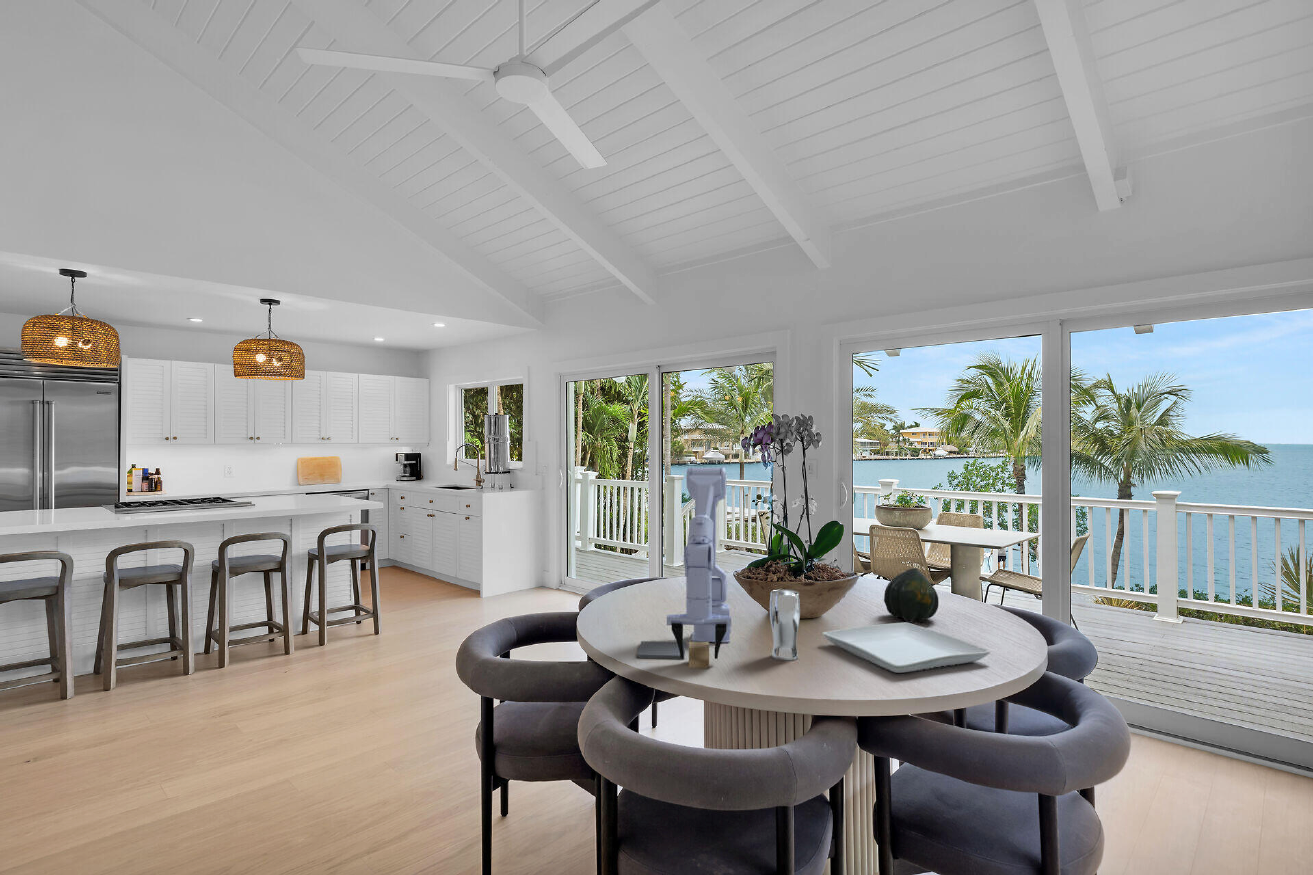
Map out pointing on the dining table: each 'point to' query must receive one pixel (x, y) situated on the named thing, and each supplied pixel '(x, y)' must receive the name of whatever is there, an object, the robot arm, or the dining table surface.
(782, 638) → the beer glass
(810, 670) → the dining table surface
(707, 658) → the oak cube
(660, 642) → the charcoal mat
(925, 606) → the squash
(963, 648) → the square plate
